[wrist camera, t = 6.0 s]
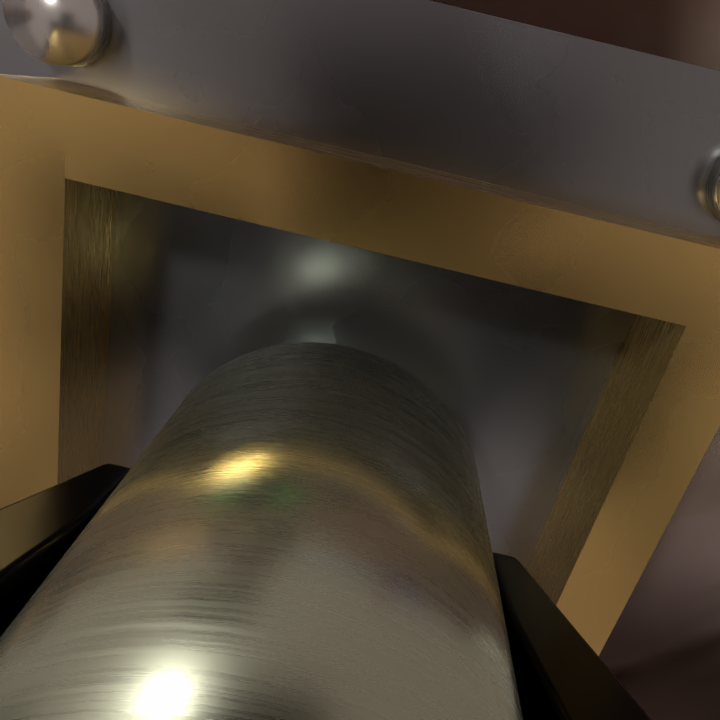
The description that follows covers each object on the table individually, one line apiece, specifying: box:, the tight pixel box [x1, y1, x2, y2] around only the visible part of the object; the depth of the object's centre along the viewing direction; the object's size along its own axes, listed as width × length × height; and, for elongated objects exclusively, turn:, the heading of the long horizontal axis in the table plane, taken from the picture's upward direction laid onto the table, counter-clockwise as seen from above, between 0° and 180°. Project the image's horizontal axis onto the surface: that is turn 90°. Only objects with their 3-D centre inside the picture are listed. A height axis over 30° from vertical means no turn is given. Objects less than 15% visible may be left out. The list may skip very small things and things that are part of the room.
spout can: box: [0, 342, 523, 720], centre depth 6 cm, size 5×5×7 cm
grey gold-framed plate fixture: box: [0, 0, 720, 656], centre depth 11 cm, size 14×12×4 cm
